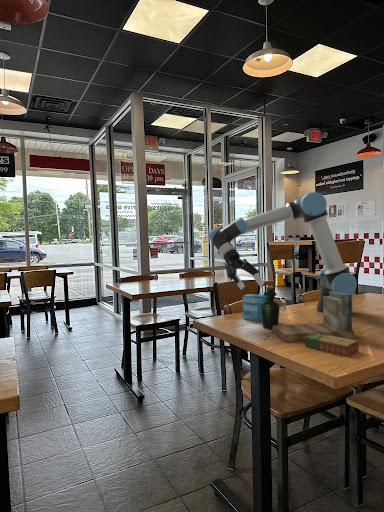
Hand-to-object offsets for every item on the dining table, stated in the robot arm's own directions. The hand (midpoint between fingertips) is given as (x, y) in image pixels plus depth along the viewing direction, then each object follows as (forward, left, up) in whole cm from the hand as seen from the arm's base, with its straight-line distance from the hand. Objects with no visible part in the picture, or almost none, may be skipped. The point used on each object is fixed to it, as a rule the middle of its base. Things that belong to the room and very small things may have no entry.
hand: (253, 286), depth 166 cm
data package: (-4, -9, -18) cm, 20 cm away
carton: (-17, +42, -18) cm, 48 cm away
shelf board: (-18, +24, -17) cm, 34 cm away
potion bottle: (-6, +8, -18) cm, 20 cm away
